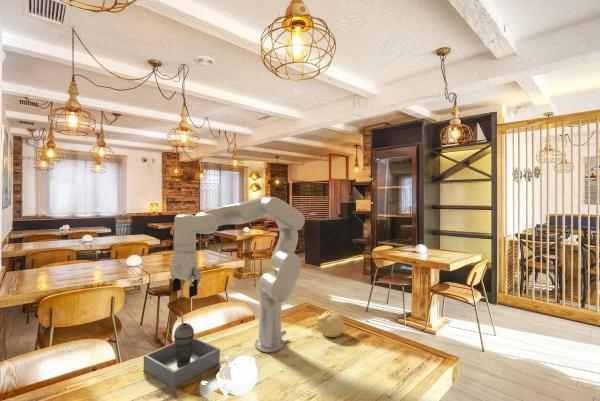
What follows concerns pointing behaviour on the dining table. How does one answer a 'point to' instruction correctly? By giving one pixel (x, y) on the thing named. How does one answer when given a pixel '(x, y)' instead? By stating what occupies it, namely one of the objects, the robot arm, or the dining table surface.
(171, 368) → the walled bin
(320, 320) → the sculpture
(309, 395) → the dining table surface
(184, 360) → the beverage cup
